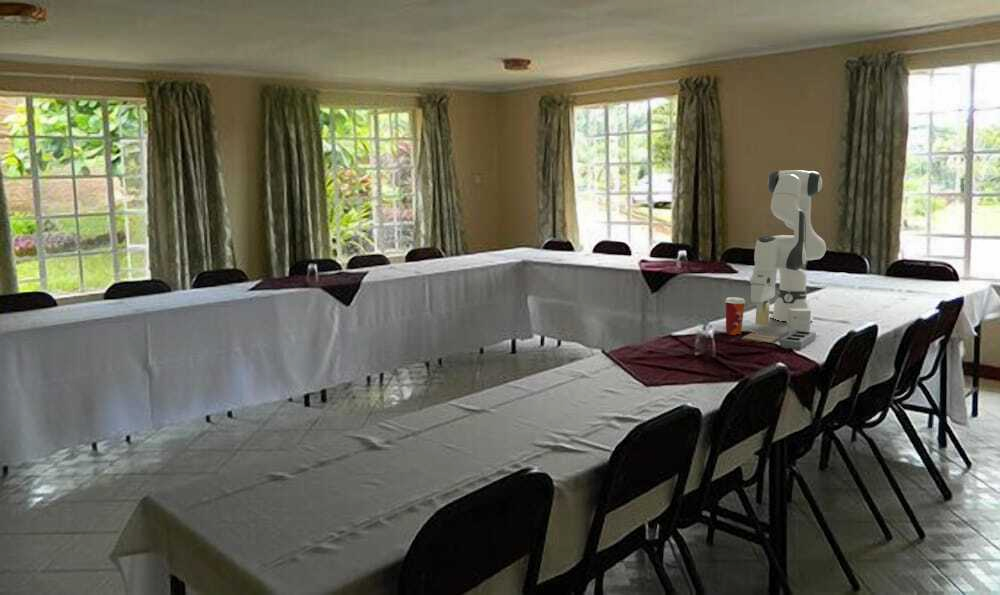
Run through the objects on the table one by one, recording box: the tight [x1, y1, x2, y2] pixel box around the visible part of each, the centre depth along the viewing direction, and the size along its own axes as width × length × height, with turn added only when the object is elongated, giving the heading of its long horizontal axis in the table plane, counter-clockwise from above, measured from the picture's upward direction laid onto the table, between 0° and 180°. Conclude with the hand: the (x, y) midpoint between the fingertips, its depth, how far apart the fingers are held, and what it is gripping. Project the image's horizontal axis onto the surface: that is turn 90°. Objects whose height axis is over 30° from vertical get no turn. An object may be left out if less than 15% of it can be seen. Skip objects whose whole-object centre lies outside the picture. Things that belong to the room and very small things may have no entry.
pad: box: [740, 332, 781, 344], centre depth 315 cm, size 12×12×1 cm
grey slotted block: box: [778, 330, 817, 351], centre depth 309 cm, size 22×8×3 cm, turn 144°
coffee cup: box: [724, 296, 746, 336], centre depth 326 cm, size 8×8×15 cm
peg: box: [755, 301, 771, 326], centre depth 313 cm, size 4×4×9 cm
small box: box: [786, 308, 812, 334], centre depth 326 cm, size 8×6×10 cm
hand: (762, 311), depth 313 cm, fingers closed on peg, 4 cm apart
